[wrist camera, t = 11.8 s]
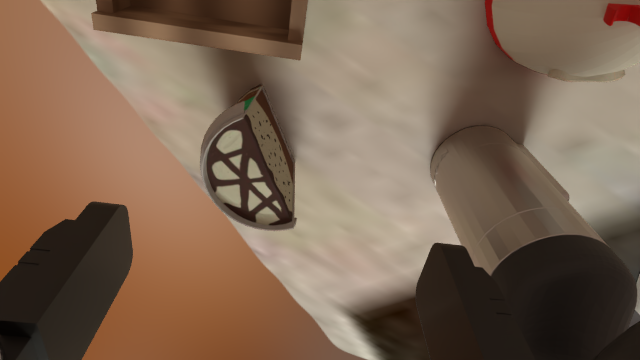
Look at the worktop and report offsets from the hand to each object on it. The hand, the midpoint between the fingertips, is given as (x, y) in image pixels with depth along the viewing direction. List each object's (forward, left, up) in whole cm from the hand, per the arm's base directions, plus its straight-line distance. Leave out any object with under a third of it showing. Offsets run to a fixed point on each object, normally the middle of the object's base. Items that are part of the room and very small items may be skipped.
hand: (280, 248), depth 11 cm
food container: (+4, +12, -30) cm, 33 cm away
